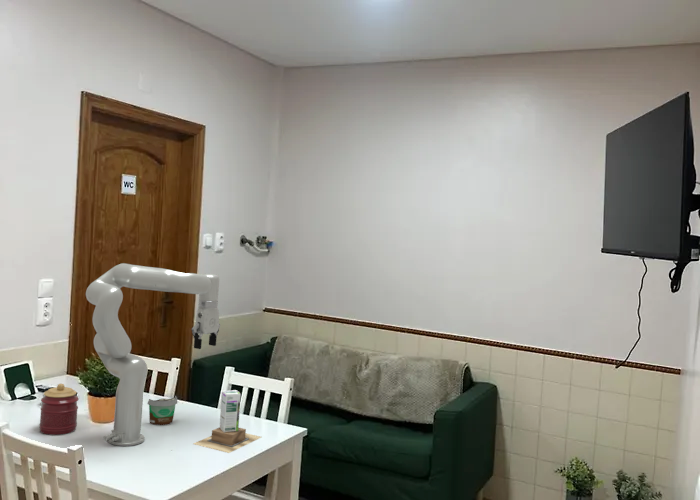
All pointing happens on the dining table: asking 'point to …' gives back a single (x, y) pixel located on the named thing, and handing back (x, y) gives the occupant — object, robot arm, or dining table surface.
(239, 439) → the base block
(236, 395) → the syrup box
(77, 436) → the dining table surface
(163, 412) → the food container
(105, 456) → the dining table surface
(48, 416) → the canister
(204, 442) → the build plate
